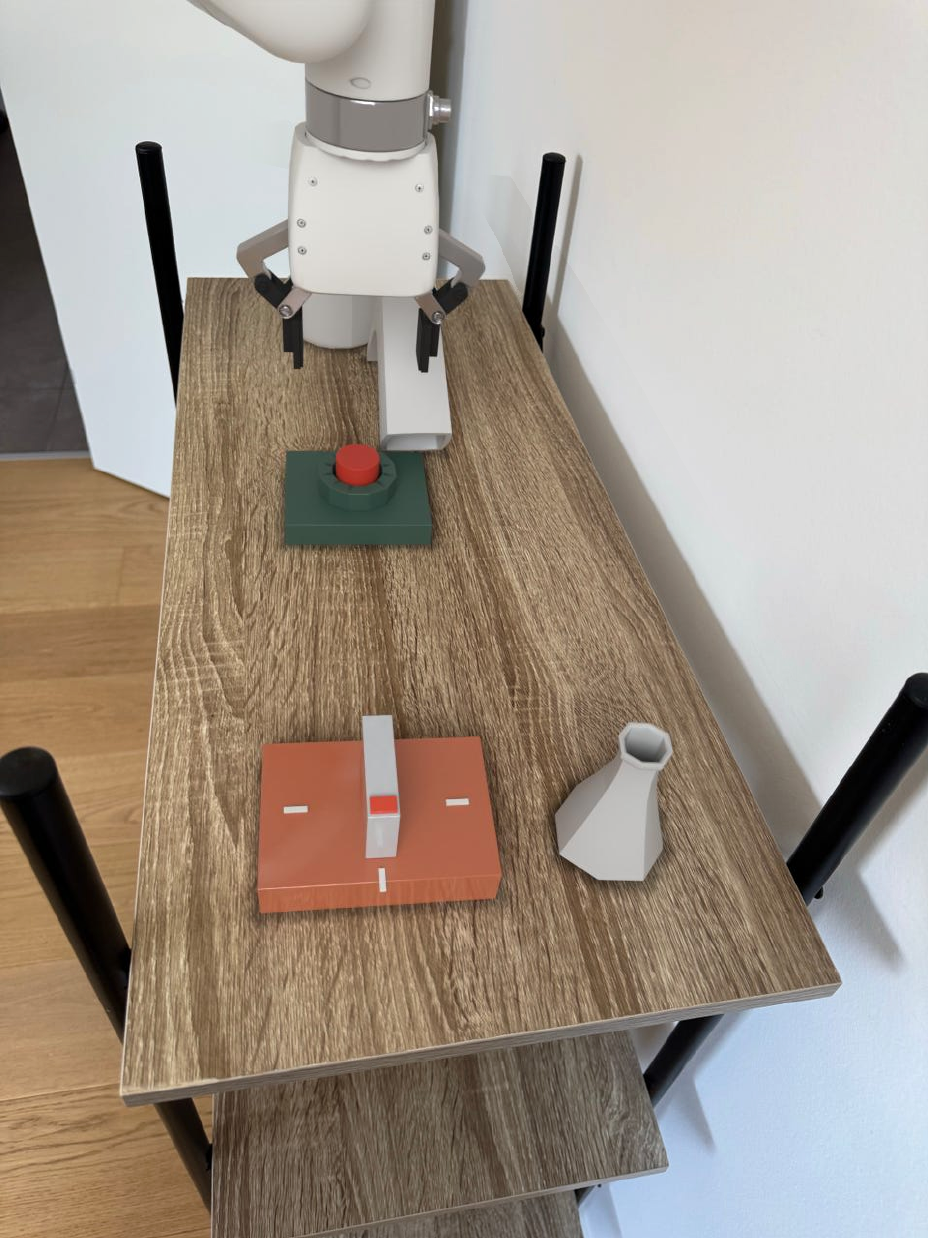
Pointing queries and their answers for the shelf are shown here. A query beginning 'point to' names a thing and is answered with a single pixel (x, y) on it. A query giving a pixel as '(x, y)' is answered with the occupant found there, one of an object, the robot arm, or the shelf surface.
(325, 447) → the shelf surface
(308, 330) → the soap bottle
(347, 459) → the button
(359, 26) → the robot arm
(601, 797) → the flask
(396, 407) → the faucet
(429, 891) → the panel
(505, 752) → the shelf surface
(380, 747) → the tap handle
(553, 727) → the shelf surface
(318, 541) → the button block
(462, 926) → the shelf surface
